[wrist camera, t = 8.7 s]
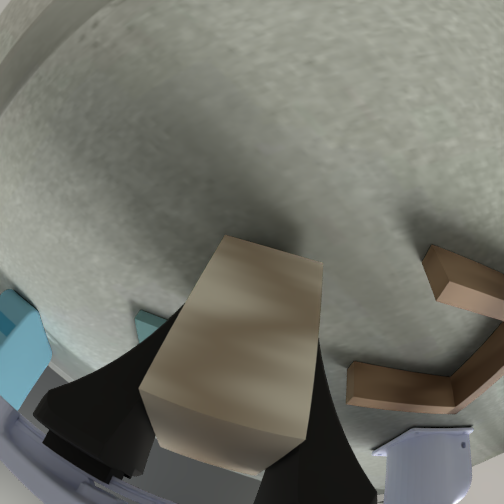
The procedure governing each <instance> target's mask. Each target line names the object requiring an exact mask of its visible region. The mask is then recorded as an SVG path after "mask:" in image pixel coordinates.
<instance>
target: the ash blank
mask: <svg viewBox="0 0 504 504" xmlns="http://www.w3.org/2000/svg"><path fill="white" fill-rule="evenodd" d="M322 277H323V263H321V262H318V261H315V260H311V259H308V258H304V257H301V256H297V255H294V254H291V253H287V252H284V251H280V250H277V249H273V248H270V247H266V246H263V245H259V244H256V243H252V242H249V241H245V240H242V239H238V238H235V237H231V236H228V235H225V236H224V237H223V239H222V241H221V242H220V244H219V246H218V247H217V249H216V251H215V252H214V254H213V256H212V258H211V259H210V261H209V263H208V264H207V266H206V268H205V270H204V271H203V273H202V275H201V276H200V278H199V280H198V282H197V283H196V285H195V287H194V289H193V290H192V292H191V294H190V296H189V297H188V299H187V301H186V303H185V304H184V306H183V308H182V310H181V311H180V313H179V315H178V317H177V319H176V320H175V322H174V324H173V326H172V327H171V329H170V331H169V333H168V335H167V336H166V338H165V340H164V342H163V344H162V346H161V347H160V349H159V351H158V353H157V355H156V357H155V358H154V360H153V362H152V364H151V366H150V368H149V370H148V371H147V373H146V375H145V377H144V379H143V381H142V383H141V385H140V386H139V391H140V394H141V397H142V400H143V403H144V406H145V409H146V411H147V414H148V417H149V419H150V422H151V425H152V427H153V430H154V432H155V435H156V437H157V439H158V442H159V444H160V446H161V447H163V448H166V449H168V450H171V451H173V452H176V453H178V454H181V455H184V456H187V457H190V458H193V459H196V460H199V461H202V462H205V463H208V464H211V465H215V466H218V467H222V468H225V469H229V470H233V471H237V472H241V473H245V474H249V475H254V476H256V475H257V474H259V473H260V472H262V471H263V470H265V469H266V468H268V467H269V466H271V465H272V464H273V463H275V462H276V461H278V460H279V459H280V458H282V457H283V456H285V455H286V454H287V453H289V452H290V451H291V450H293V449H294V448H295V447H297V446H298V445H299V444H301V443H302V442H303V441H304V440H306V434H307V427H308V421H309V414H310V407H311V399H312V391H313V383H314V375H315V366H316V356H317V346H318V335H319V323H320V310H321V295H322Z"/></svg>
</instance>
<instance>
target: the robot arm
mask: <svg viewBox="0 0 504 504" xmlns="http://www.w3.org/2000/svg"><path fill="white" fill-rule="evenodd" d="M185 303H186V302H185ZM185 303H184V304H185ZM184 304H183V305H182V306H181V307H180V308H179V309H178V310H177V311H176V312H175V313H174V314H173V315H172V316H171V317H170V318H169V319H168V320H167V321H166V322H165V323H164V324H162V325H161V326H160V327H159V328H158V329H157V330H156V331H154V332H153V333H152V334H151V335H150V336H148V337H147V338H146V339H144V340H143V341H142V342H141V343H139V344H138V345H137V346H135V347H134V348H133V349H131V350H130V351H128V352H127V353H125V354H124V355H122V356H121V357H119V358H118V359H116V360H114V361H113V362H111V363H109V364H108V365H106V366H104V367H102V368H100V369H99V370H97V371H95V372H93V373H91V374H88V375H86V376H84V377H82V378H80V379H78V380H75V381H73V382H70V383H68V384H65V385H62V386H59V387H57V388H54V389H51V390H49V391H48V392H47V393H46V394H45V395H44V397H43V398H42V399H41V401H40V403H39V404H38V406H37V407H36V409H35V411H34V412H33V416H34V417H35V418H36V419H37V420H38V421H39V422H40V423H42V424H43V425H44V426H45V427H47V428H48V429H49V432H48V433H47V435H46V434H45V433H43V432H42V431H41V430H39V429H38V428H37V427H35V426H34V425H33V424H32V423H31V422H30V421H28V420H27V419H26V418H25V417H24V416H22V415H21V414H20V413H19V412H18V411H17V410H16V409H15V408H14V407H12V406H11V405H10V404H9V403H8V402H7V401H6V400H5V399H4V398H3V397H2V396H1V395H0V460H1V461H2V462H3V463H4V465H5V466H6V467H7V468H8V469H9V470H10V471H11V472H12V473H13V474H14V475H15V476H16V477H17V478H18V479H19V481H21V482H22V483H23V484H24V485H25V486H26V487H27V488H28V489H29V490H30V491H31V492H32V493H33V494H34V495H35V496H36V497H38V498H39V499H40V500H41V501H42V502H43V503H44V504H128V502H126V501H125V500H123V499H121V498H119V497H117V496H115V495H113V494H111V493H110V492H107V491H105V490H103V489H101V488H99V487H96V486H95V484H94V481H96V482H97V483H99V484H101V485H103V486H105V487H107V488H108V489H110V490H112V491H114V492H116V493H119V494H120V495H122V496H124V497H127V498H129V499H131V500H133V501H135V502H138V503H140V504H178V503H175V502H172V501H169V500H167V499H164V498H161V497H159V496H156V495H154V494H151V493H149V492H146V491H144V490H142V489H140V488H137V487H135V486H133V485H131V484H129V483H126V482H124V481H122V479H123V476H125V477H127V478H129V479H131V477H132V476H139V475H142V474H143V471H144V469H145V465H146V462H147V459H148V456H149V453H150V450H151V447H152V444H153V441H154V439H155V436H156V435H155V432H154V430H153V427H152V425H151V422H150V419H149V417H148V414H147V411H146V409H145V406H144V403H143V400H142V397H141V394H140V391H139V386H140V385H141V383H142V381H143V379H144V377H145V375H146V373H147V371H148V370H149V368H150V366H151V364H152V362H153V360H154V358H155V357H156V355H157V353H158V351H159V349H160V347H161V346H162V344H163V342H164V340H165V338H166V336H167V335H168V333H169V331H170V329H171V327H172V326H173V324H174V322H175V320H176V319H177V317H178V315H179V313H180V311H181V310H182V308H183V306H184ZM473 431H474V428H473V427H470V428H412V429H410V430H408V431H407V432H405V433H403V434H402V435H400V436H399V437H397V438H395V439H394V440H392V441H390V442H388V443H387V444H385V445H383V446H382V447H380V448H378V449H376V450H374V451H373V452H372V455H373V456H387V463H386V481H385V493H384V504H456V503H457V502H459V501H460V500H462V499H463V498H464V497H465V495H466V494H467V492H468V490H469V488H470V485H471V481H472V464H471V451H470V440H469V434H470V433H472V432H473ZM93 480H94V481H93ZM254 504H377V491H376V489H375V488H374V487H373V485H372V484H371V482H370V481H369V479H368V477H367V476H366V474H365V473H364V471H363V469H362V468H361V466H360V464H359V462H358V461H357V459H356V457H355V455H354V453H353V451H352V449H351V447H350V445H349V443H348V441H347V438H346V436H345V434H344V431H343V429H342V426H341V424H340V421H339V419H338V416H337V413H336V410H335V407H334V404H333V401H332V397H331V394H330V390H329V386H328V383H327V379H326V375H325V370H324V366H323V361H322V356H321V350H320V344H319V338H318V346H317V356H316V366H315V375H314V383H313V391H312V399H311V407H310V414H309V421H308V427H307V434H306V440H304V441H303V442H302V443H301V444H299V445H298V446H297V447H295V448H294V449H293V450H291V451H290V452H289V453H287V454H286V455H285V456H283V457H282V458H280V459H279V460H278V461H276V462H275V463H273V464H272V465H271V466H269V467H268V468H266V469H265V473H264V476H263V479H262V482H261V485H260V487H259V490H258V493H257V496H256V499H255V501H254Z"/></svg>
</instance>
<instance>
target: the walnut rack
mask: <svg viewBox="0 0 504 504" xmlns="http://www.w3.org/2000/svg"><path fill="white" fill-rule="evenodd" d="M422 265H423V267H424V270H425V272H426V275H427V278H428V280H429V283H430V286H431V288H432V291H433V294H434V297H435V300H436V301H438V302H441V303H444V304H448V305H451V306H455V307H458V308H461V309H465V310H468V311H471V312H475V313H478V314H481V315H485V316H488V317H491V318H495V319H498V320H501V321H503V322H502V323H501V324H500V326H499V327H498V328H497V329H496V330H495V332H494V333H493V334H492V335H491V336H490V337H489V338H488V339H487V341H486V342H485V343H484V344H483V345H482V346H481V347H480V348H479V349H478V350H477V351H476V352H475V353H474V354H473V355H472V357H471V358H470V359H469V360H468V361H467V362H466V363H465V364H464V365H462V366H461V367H460V368H459V369H458V370H457V371H456V372H455V373H454V374H453V375H452V376H451V377H444V376H437V375H430V374H423V373H416V372H410V371H404V370H398V369H392V368H387V367H381V366H376V365H371V364H366V363H361V362H356V361H354V362H353V363H352V364H351V365H350V367H349V368H348V369H347V388H346V404H348V405H355V406H361V407H368V408H376V409H384V410H394V411H404V412H416V413H433V414H457V413H458V412H459V411H461V410H462V409H463V408H465V407H466V406H467V405H469V404H470V403H471V402H472V401H474V400H475V399H476V398H477V397H479V396H480V395H481V394H482V393H484V392H485V391H486V390H487V389H488V388H489V387H491V386H492V385H493V384H494V383H495V382H496V381H497V380H499V379H500V378H501V377H502V376H503V375H504V274H502V273H500V272H498V271H496V270H493V269H491V268H489V267H486V266H484V265H482V264H480V263H477V262H475V261H472V260H470V259H468V258H465V257H463V256H460V255H458V254H455V253H453V252H450V251H448V250H445V249H443V248H440V247H438V246H435V245H431V247H430V249H429V250H428V252H427V254H426V256H425V257H424V259H423V261H422Z"/></svg>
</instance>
